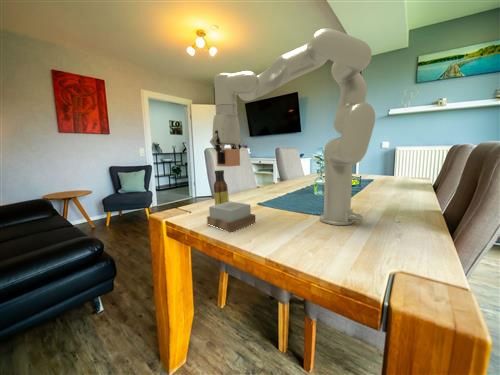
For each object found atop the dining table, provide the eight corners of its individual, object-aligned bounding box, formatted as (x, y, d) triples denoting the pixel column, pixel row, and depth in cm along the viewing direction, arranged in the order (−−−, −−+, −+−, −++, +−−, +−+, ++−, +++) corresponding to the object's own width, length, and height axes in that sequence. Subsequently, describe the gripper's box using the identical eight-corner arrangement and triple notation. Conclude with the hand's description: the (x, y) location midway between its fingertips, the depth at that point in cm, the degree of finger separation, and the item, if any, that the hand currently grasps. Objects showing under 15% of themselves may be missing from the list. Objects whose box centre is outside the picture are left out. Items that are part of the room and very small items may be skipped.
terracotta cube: (240, 165, 80) (239, 149, 79) (228, 166, 76) (227, 149, 75) (228, 165, 84) (228, 149, 83) (216, 166, 80) (216, 149, 79)
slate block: (250, 214, 84) (250, 204, 83) (231, 222, 75) (230, 211, 75) (229, 210, 91) (229, 201, 90) (209, 217, 82) (209, 206, 81)
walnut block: (255, 224, 84) (255, 214, 84) (231, 234, 75) (230, 223, 74) (232, 218, 93) (231, 209, 92) (207, 226, 83) (207, 216, 83)
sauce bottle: (230, 211, 101) (229, 169, 98) (228, 215, 95) (226, 170, 92) (217, 211, 102) (214, 169, 99) (213, 215, 96) (211, 170, 93)
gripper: (236, 116, 86) (237, 162, 89) (200, 110, 73) (203, 164, 76) (250, 113, 81) (251, 162, 84) (214, 107, 68) (217, 164, 71)
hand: (228, 162), depth 80 cm, fingers closed on terracotta cube, 6 cm apart
